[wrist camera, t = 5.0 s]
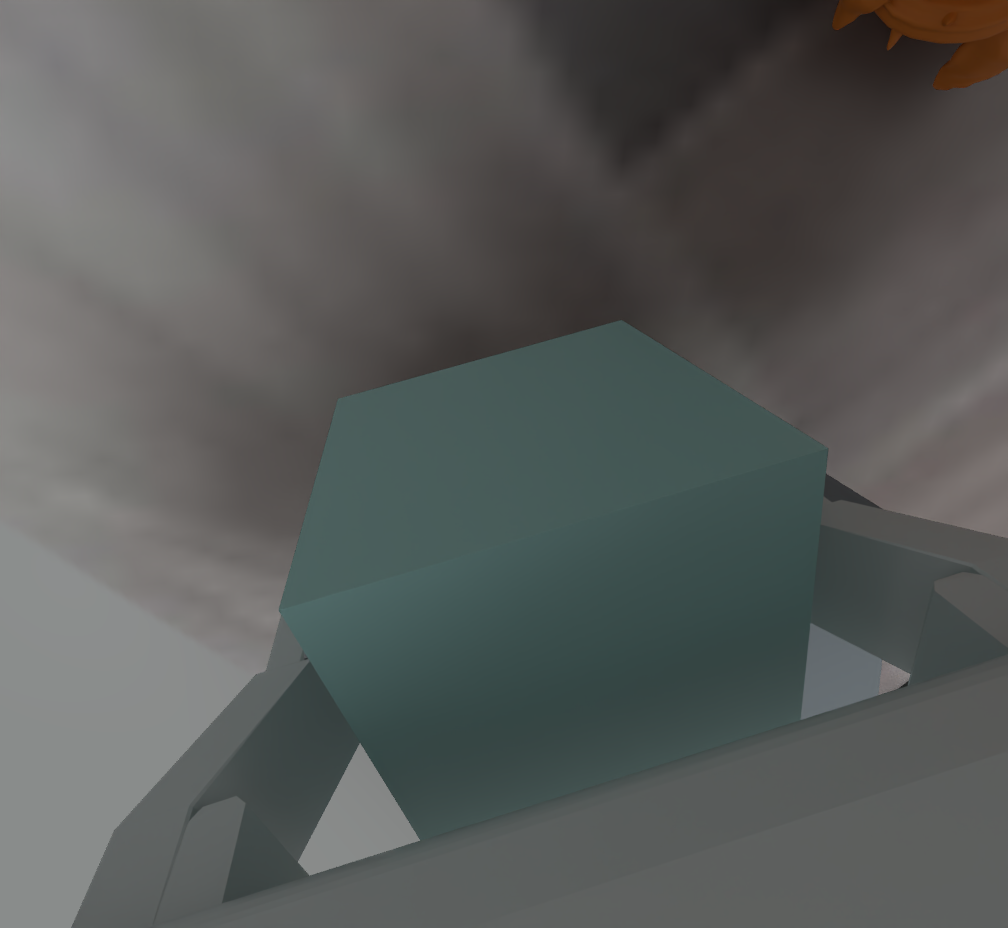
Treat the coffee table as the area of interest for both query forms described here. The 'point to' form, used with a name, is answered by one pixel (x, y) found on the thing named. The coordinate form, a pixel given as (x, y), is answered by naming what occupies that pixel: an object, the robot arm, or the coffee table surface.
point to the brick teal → (555, 572)
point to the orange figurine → (944, 32)
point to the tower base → (837, 651)
